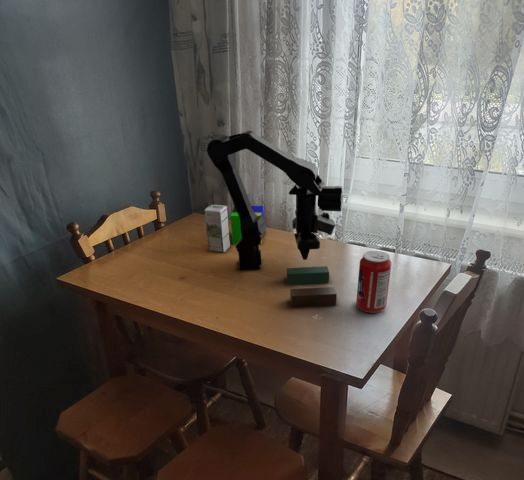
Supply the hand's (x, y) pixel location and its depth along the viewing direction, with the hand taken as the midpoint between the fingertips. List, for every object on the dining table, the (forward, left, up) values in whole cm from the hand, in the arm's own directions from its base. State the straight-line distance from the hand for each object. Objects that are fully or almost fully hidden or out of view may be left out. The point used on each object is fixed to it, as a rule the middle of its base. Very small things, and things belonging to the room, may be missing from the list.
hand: (304, 259), depth 149 cm
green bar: (0, -7, -4) cm, 8 cm away
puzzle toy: (-17, +27, -4) cm, 32 cm away
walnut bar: (0, -20, -4) cm, 21 cm away
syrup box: (-27, +19, -4) cm, 33 cm away
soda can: (+15, -24, -4) cm, 29 cm away
